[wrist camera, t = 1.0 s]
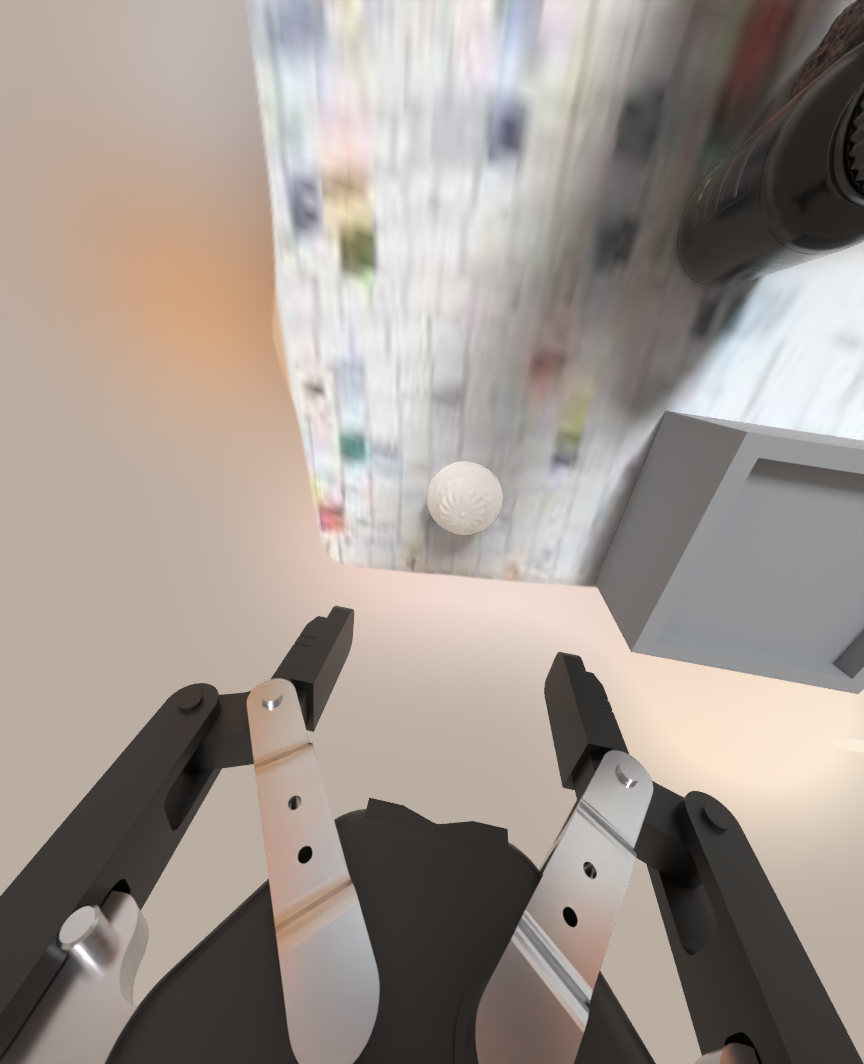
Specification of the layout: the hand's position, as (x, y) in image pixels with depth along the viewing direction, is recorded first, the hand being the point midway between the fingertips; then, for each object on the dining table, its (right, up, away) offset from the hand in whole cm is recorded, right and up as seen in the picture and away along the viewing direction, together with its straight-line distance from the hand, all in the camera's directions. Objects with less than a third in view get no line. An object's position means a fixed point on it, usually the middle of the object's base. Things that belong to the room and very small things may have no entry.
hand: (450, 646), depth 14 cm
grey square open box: (+24, +5, +17) cm, 30 cm away
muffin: (+2, +9, +18) cm, 20 cm away
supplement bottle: (+18, +24, +8) cm, 31 cm away
